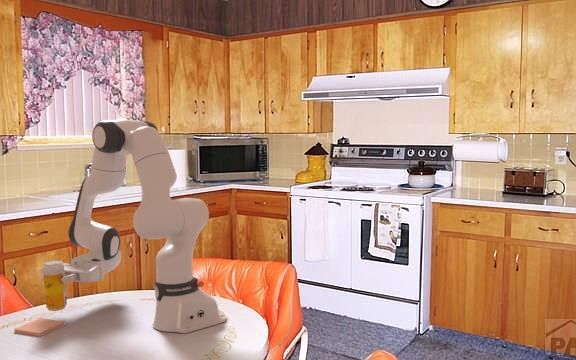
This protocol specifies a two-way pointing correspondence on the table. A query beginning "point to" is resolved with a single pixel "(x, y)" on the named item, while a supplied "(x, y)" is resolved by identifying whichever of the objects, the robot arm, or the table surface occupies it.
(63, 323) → the tile
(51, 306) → the beer can
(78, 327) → the table surface
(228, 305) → the table surface
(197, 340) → the table surface
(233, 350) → the table surface
